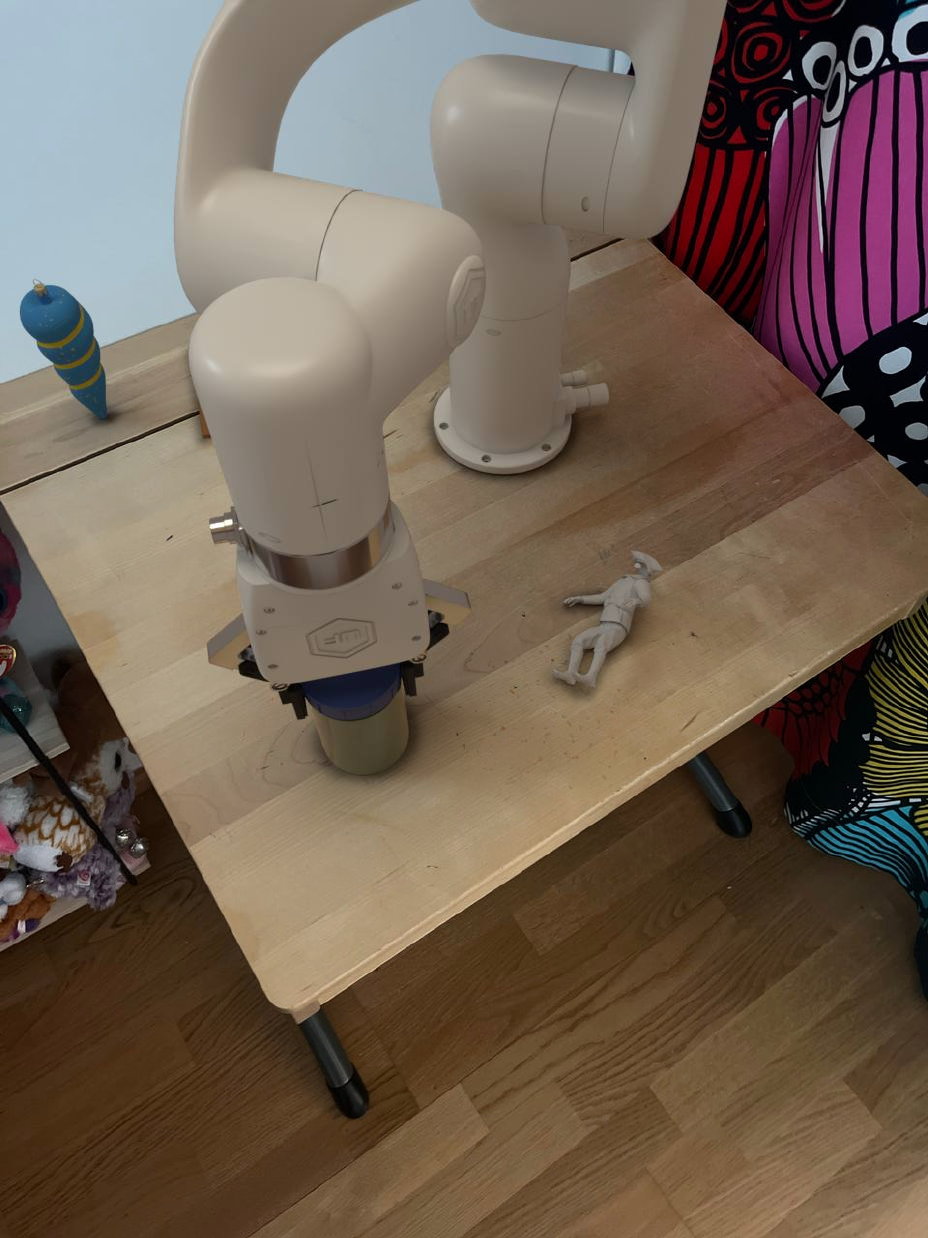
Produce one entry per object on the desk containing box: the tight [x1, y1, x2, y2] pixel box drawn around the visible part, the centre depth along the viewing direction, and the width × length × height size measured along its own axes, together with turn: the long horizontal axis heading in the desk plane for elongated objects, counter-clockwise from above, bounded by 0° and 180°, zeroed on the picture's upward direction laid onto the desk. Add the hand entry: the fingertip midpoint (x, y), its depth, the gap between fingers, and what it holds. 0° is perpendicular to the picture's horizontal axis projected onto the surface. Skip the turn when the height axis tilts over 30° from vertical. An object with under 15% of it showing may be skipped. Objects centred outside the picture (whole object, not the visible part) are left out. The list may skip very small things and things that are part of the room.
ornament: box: [19, 278, 108, 420], centre depth 79 cm, size 5×5×15 cm
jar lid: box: [299, 662, 403, 721], centre depth 59 cm, size 7×7×2 cm
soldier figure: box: [551, 550, 664, 689], centre depth 71 cm, size 8×5×12 cm
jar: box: [307, 678, 410, 776], centre depth 63 cm, size 6×6×10 cm
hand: (353, 688), depth 61 cm, fingers closed on jar lid, 6 cm apart
